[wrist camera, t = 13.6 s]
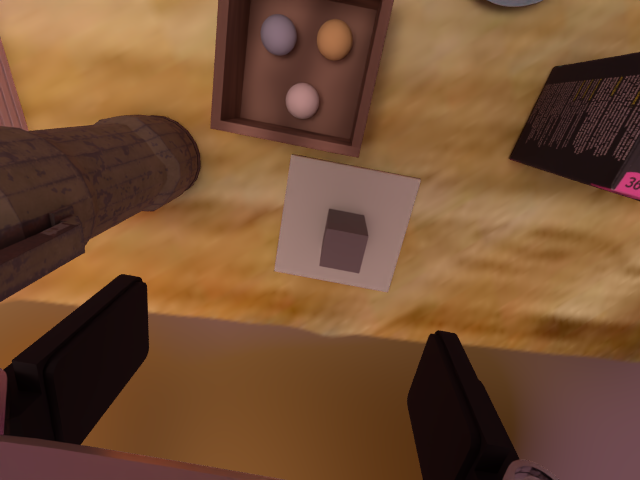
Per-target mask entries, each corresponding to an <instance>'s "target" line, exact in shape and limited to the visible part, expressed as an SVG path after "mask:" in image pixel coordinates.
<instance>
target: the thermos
mask: <svg viewBox="0 0 640 480" xmlns="http://www.w3.org/2000/svg"><path fill="white" fill-rule="evenodd" d="M199 171H200V153H199V151H198V148H197V145H196V142H195V141H194V139H193V138H192V136H191V135H190V133H189V132H188V131H187V130H186V129H185V128H184V127H183V126H181V125H180V124H179V123H178V122H176V121H174V120H171V119H169V118H167V117H163V116H153V115H151V116H146V115H126V116H118V117H112V118H107V119H102V120H99V121H98V122H97V123H95V124H94V125H88V126H77V127H67V128H56V129H46V130H35V131H26V130H23V129H21V128H15V127H6V126H0V302H1V301H3V300H4V299H6V298H8V297H10V296H11V295H13V294H15V293H16V292H18V291H20V290H21V289H23V288H25V287H26V286H28V285H30V284H32V283H33V282H35V281H37V280H38V279H40V278H42V277H43V276H45V275H47V274H49V273H50V272H52V271H54V270H55V269H57V268H59V267H60V266H62V265H64V264H66V263H67V262H69V261H71V260H73V259H74V258H76V257H78V256H80V255H81V254H83V253H85V245H86V244H87V242H88V241H89V239H91V238H93V237H95V236H97V235H98V234H100V233H102V232H104V231H106V230H108V229H109V228H111V227H113V226H115V225H117V224H119V223H120V222H122V221H124V220H126V219H128V218H129V217H131V216H133V215H135V214H137V213H139V212H140V211H154V210H156V209H158V208H160V207H161V206H163V205H165V204H166V203H168V202H170V201H172V200H173V199H175V198H176V197H178V196H180V195H181V194H182V193H183V192H184V191H186V190H187V189H189V188H190V187H191V186H192V185H193V183H194V182H195V181H196V179H197V177H198V174H199Z"/></svg>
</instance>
